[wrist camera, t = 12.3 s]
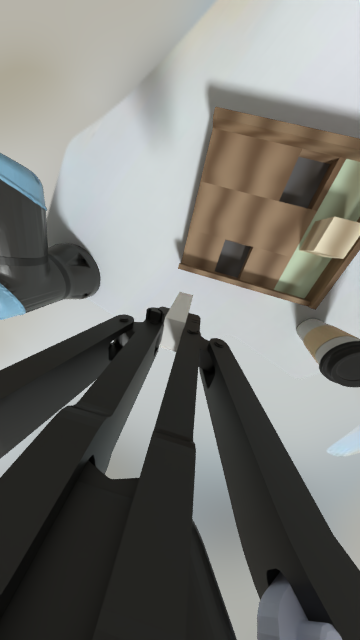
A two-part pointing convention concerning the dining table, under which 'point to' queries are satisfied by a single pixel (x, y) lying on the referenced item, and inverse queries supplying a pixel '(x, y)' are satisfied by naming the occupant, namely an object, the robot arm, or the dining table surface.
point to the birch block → (331, 237)
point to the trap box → (271, 205)
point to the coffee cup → (332, 351)
